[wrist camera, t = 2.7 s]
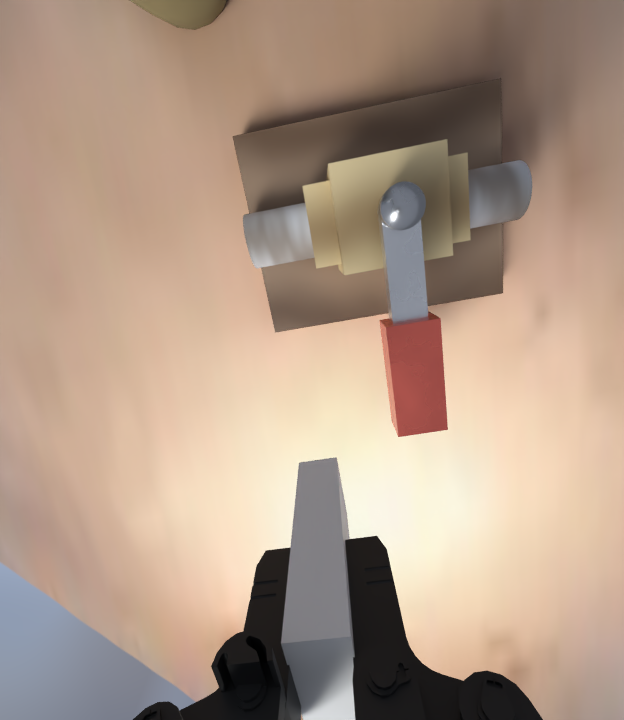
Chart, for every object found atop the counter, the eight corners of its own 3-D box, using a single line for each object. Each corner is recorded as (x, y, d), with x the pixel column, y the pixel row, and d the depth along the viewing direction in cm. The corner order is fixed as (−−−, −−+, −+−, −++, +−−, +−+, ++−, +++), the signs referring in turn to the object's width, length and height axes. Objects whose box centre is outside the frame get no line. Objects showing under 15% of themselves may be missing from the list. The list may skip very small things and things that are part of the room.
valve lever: (364, 194, 19) (370, 187, 17) (418, 183, 19) (432, 175, 17) (391, 420, 23) (399, 438, 21) (436, 413, 23) (448, 431, 21)
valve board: (238, 144, 25) (205, 101, 18) (486, 91, 24) (563, 20, 17) (278, 327, 30) (264, 354, 22) (490, 290, 28) (553, 305, 21)
